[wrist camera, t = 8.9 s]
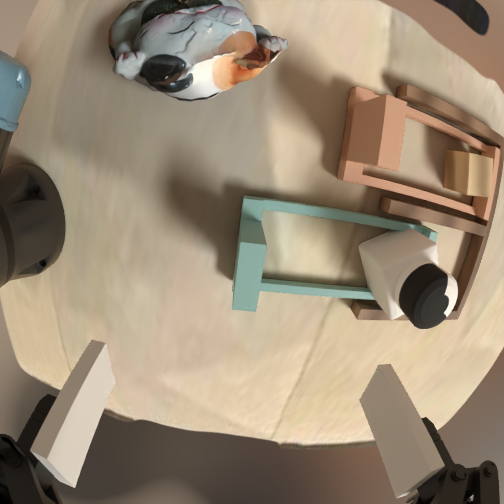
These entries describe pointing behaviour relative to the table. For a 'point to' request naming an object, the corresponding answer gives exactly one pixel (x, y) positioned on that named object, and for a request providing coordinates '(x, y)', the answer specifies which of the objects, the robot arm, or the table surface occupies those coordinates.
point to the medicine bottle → (408, 277)
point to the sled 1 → (254, 246)
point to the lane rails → (410, 210)
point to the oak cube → (468, 173)
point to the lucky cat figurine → (190, 46)
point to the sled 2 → (397, 146)
